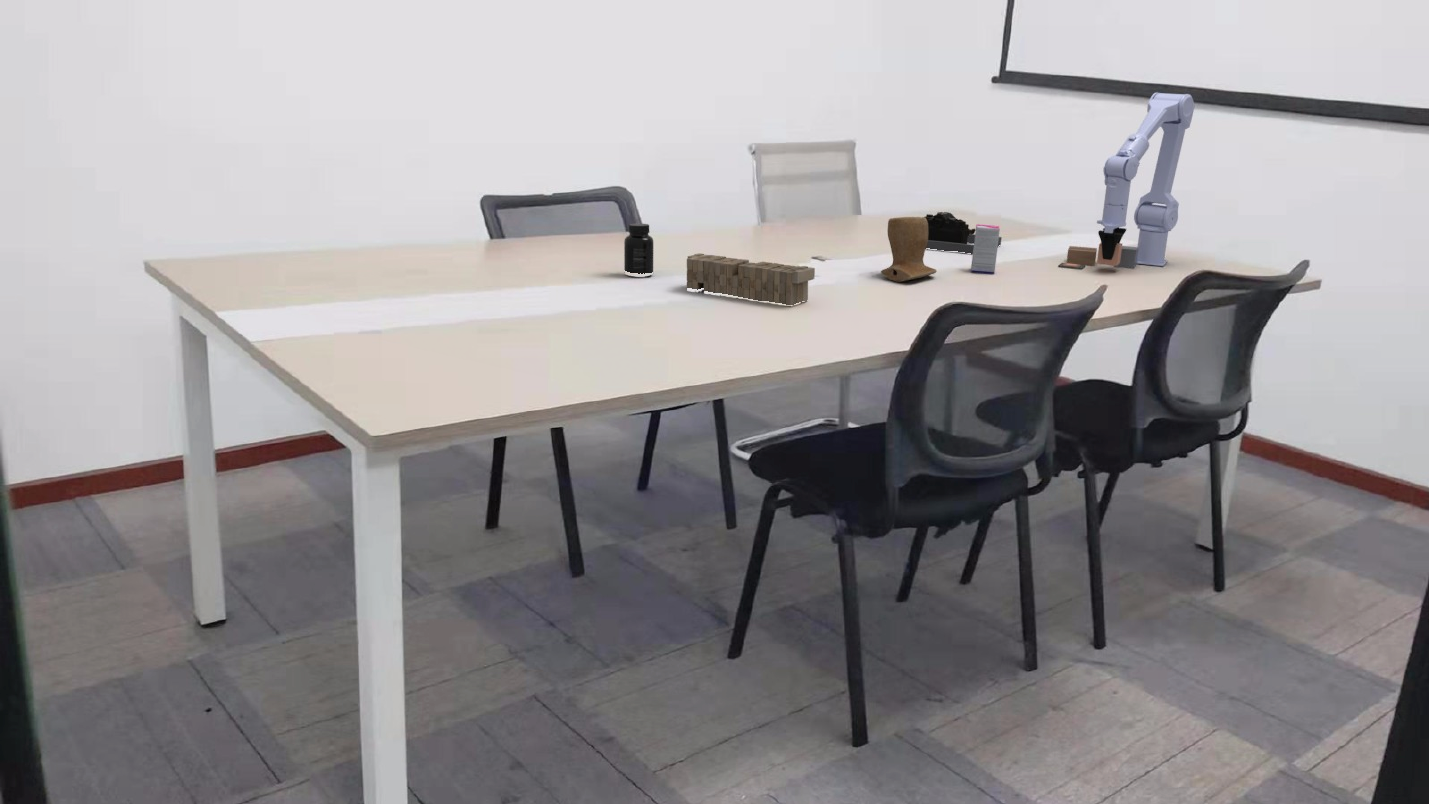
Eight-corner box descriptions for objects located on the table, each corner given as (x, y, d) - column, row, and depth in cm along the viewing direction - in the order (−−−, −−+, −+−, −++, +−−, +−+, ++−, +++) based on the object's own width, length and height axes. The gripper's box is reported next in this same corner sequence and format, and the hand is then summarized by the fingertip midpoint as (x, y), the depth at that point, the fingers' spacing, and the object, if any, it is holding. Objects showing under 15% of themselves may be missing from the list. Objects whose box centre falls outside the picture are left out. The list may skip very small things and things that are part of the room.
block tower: (680, 295, 261) (797, 309, 246) (680, 257, 258) (797, 269, 244) (699, 289, 267) (814, 303, 252) (699, 253, 265) (815, 264, 250)
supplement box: (995, 274, 291) (999, 228, 287) (970, 272, 292) (975, 227, 289) (994, 270, 296) (999, 225, 293) (970, 268, 297) (975, 223, 294)
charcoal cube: (1116, 264, 311) (1119, 245, 310) (1136, 266, 309) (1138, 247, 308) (1113, 267, 307) (1116, 248, 306) (1133, 269, 305) (1136, 250, 303)
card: (1061, 264, 308) (1061, 261, 308) (1085, 266, 305) (1085, 264, 305) (1057, 267, 304) (1058, 264, 303) (1081, 269, 301) (1081, 267, 301)
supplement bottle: (658, 274, 277) (659, 224, 274) (644, 279, 271) (645, 227, 268) (632, 271, 280) (633, 221, 276) (618, 276, 274) (619, 224, 270)
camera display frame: (919, 237, 344) (920, 229, 344) (1000, 245, 334) (1001, 237, 334) (898, 246, 327) (898, 237, 327) (983, 255, 317) (984, 246, 316)
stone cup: (900, 270, 292) (904, 210, 288) (942, 277, 285) (947, 215, 280) (867, 278, 281) (871, 215, 276) (910, 285, 274) (915, 221, 269)
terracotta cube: (1099, 260, 303) (1102, 241, 302) (1119, 262, 301) (1122, 243, 300) (1096, 263, 299) (1099, 244, 298) (1117, 265, 297) (1119, 246, 296)
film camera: (984, 248, 330) (988, 212, 327) (969, 254, 320) (972, 217, 317) (925, 241, 339) (928, 206, 336) (908, 246, 329) (911, 211, 326)
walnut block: (1068, 260, 315) (1069, 245, 314) (1095, 262, 313) (1097, 248, 312) (1066, 264, 309) (1068, 249, 308) (1093, 267, 307) (1095, 251, 306)
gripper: (1104, 200, 304) (1097, 252, 308) (1094, 206, 291) (1088, 260, 295) (1132, 202, 301) (1125, 254, 305) (1124, 208, 288) (1117, 263, 292)
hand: (1109, 257), depth 300 cm, fingers closed on terracotta cube, 5 cm apart
